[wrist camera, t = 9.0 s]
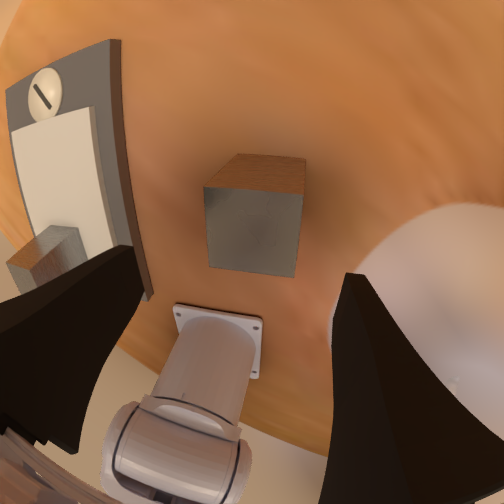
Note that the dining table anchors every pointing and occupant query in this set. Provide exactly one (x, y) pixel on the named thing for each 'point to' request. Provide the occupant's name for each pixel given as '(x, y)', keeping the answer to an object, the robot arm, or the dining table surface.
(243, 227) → the block
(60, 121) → the scale
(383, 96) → the dining table surface
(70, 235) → the block
